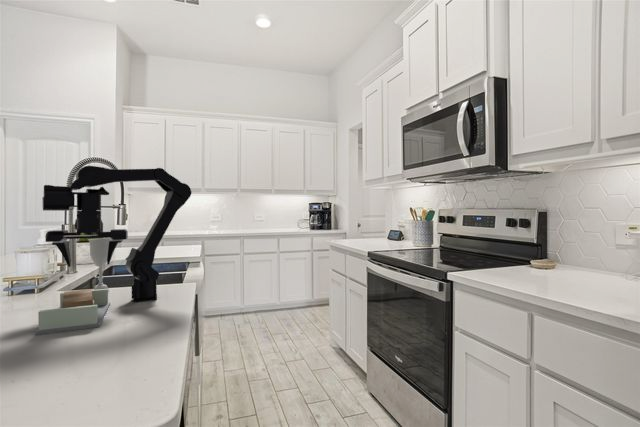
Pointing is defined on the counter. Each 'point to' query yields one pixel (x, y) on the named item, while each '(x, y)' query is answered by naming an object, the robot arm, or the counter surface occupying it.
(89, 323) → the peg cradle
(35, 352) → the counter surface
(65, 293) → the shelf board
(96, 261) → the chalice
